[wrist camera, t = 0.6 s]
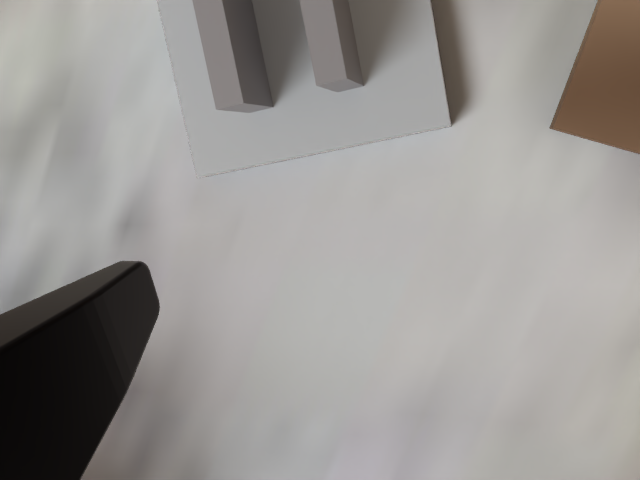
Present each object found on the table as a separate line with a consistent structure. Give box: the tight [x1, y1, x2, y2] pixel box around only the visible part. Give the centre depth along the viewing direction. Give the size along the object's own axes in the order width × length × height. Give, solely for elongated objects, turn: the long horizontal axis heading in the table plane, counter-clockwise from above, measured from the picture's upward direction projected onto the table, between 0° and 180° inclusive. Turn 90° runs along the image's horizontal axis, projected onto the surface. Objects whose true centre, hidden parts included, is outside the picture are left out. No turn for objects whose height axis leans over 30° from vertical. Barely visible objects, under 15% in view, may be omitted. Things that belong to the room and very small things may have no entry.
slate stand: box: [157, 0, 452, 178], centre depth 20 cm, size 10×10×4 cm
